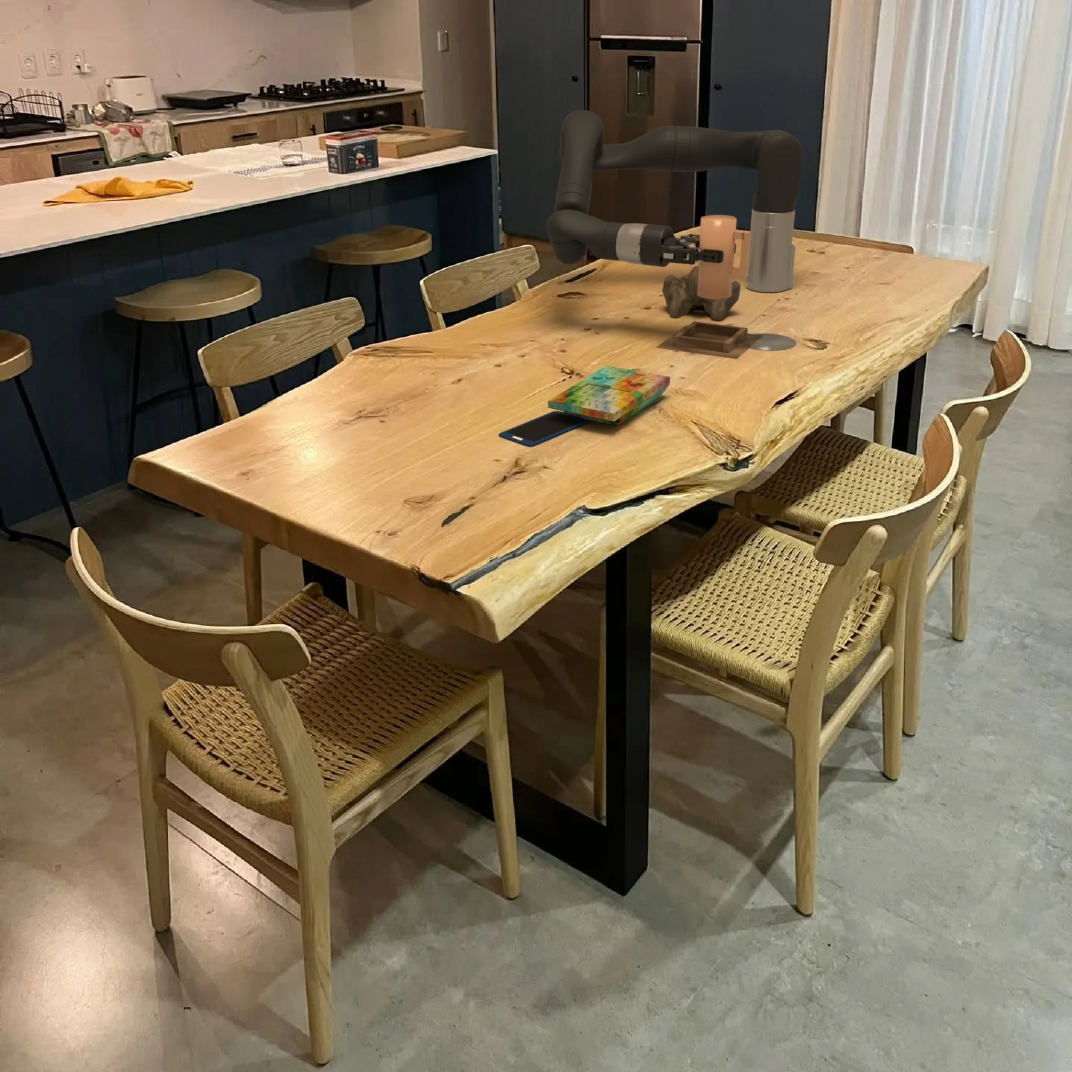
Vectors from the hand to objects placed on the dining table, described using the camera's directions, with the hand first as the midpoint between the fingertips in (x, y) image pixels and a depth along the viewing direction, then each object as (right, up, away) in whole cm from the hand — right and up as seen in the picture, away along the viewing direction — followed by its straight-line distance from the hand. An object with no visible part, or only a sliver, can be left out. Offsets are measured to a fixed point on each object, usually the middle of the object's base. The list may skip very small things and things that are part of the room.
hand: (728, 252), depth 197 cm
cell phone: (-34, -36, -28) cm, 57 cm away
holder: (-2, -15, +9) cm, 18 cm away
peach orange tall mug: (-1, -7, +4) cm, 8 cm away
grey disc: (+9, -15, +8) cm, 20 cm away
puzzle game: (-23, -32, -20) cm, 44 cm away
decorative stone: (-1, -6, +28) cm, 29 cm away
